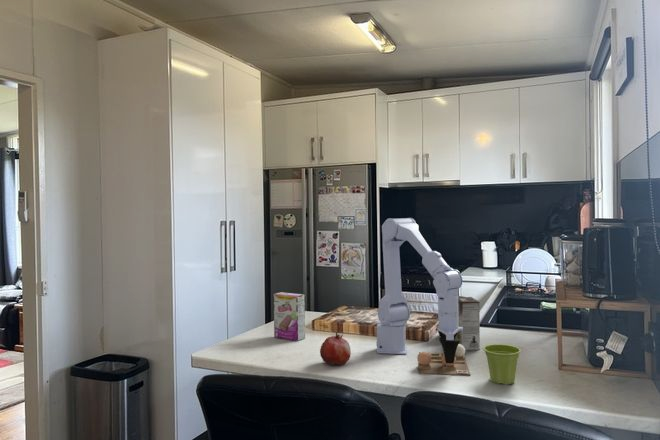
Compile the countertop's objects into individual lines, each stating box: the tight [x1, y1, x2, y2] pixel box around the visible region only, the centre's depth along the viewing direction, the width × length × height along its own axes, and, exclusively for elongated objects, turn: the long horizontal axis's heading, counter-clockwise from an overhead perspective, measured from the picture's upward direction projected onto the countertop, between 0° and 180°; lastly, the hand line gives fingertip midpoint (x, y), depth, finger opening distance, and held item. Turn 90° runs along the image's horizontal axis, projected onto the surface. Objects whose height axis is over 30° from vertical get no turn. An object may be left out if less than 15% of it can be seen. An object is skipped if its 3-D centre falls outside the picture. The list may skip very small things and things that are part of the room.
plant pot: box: [483, 343, 522, 385], centre depth 131 cm, size 9×9×9 cm
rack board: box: [417, 351, 471, 377], centre depth 146 cm, size 14×20×1 cm
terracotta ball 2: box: [442, 355, 456, 367], centre depth 141 cm, size 4×4×4 cm
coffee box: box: [455, 296, 481, 351], centre depth 165 cm, size 9×6×16 cm
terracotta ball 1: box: [417, 351, 431, 366], centre depth 143 cm, size 4×4×4 cm
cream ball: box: [455, 344, 466, 357], centre depth 150 cm, size 4×4×4 cm
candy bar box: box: [273, 291, 306, 342], centre depth 180 cm, size 11×5×16 cm, turn 58°
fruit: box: [319, 331, 352, 367], centre depth 148 cm, size 9×10×10 cm
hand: (448, 358), depth 141 cm, fingers open, 7 cm apart
